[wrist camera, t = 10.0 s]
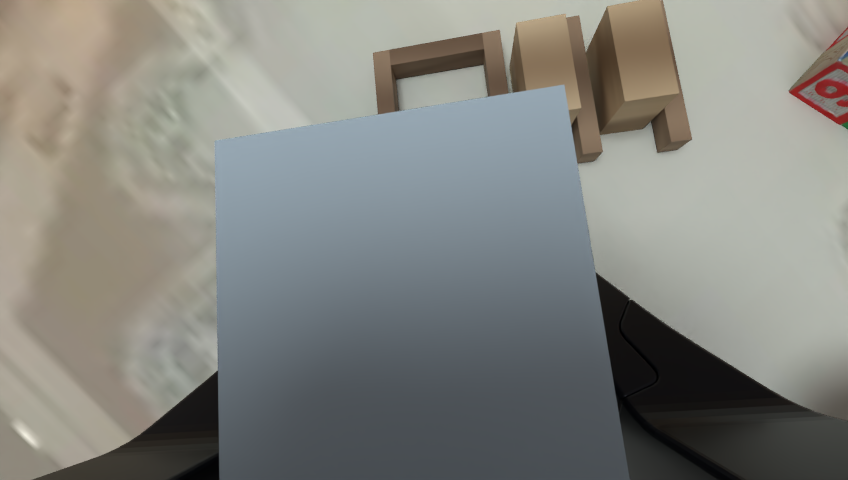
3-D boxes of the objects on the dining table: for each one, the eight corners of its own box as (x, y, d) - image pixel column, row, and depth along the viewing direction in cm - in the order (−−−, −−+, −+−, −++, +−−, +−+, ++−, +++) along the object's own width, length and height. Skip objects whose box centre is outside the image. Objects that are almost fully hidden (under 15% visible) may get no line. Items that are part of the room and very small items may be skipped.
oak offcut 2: (642, 129, 21) (679, 93, 17) (597, 135, 22) (625, 101, 18) (626, 49, 22) (659, -3, 18) (584, 56, 22) (607, 6, 18)
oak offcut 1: (562, 140, 22) (581, 108, 18) (520, 146, 22) (529, 115, 18) (549, 61, 23) (565, 13, 19) (509, 68, 23) (516, 22, 19)
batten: (508, 344, 15) (645, 571, 3) (422, 351, 16) (221, 572, 3) (495, 246, 16) (564, 84, 3) (413, 255, 16) (215, 140, 4)
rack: (676, 149, 21) (691, 139, 19) (389, 188, 23) (383, 181, 21) (650, 19, 22) (662, 0, 21) (379, 67, 24) (372, 52, 22)
